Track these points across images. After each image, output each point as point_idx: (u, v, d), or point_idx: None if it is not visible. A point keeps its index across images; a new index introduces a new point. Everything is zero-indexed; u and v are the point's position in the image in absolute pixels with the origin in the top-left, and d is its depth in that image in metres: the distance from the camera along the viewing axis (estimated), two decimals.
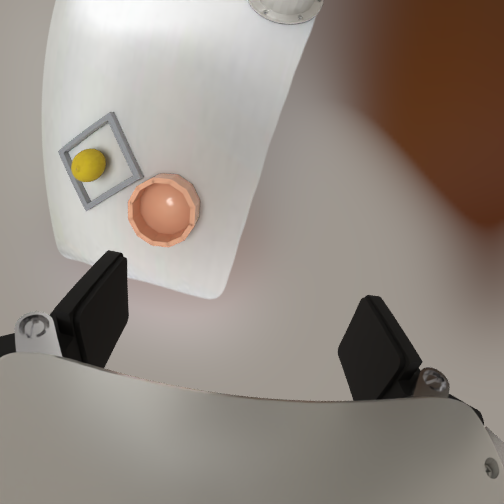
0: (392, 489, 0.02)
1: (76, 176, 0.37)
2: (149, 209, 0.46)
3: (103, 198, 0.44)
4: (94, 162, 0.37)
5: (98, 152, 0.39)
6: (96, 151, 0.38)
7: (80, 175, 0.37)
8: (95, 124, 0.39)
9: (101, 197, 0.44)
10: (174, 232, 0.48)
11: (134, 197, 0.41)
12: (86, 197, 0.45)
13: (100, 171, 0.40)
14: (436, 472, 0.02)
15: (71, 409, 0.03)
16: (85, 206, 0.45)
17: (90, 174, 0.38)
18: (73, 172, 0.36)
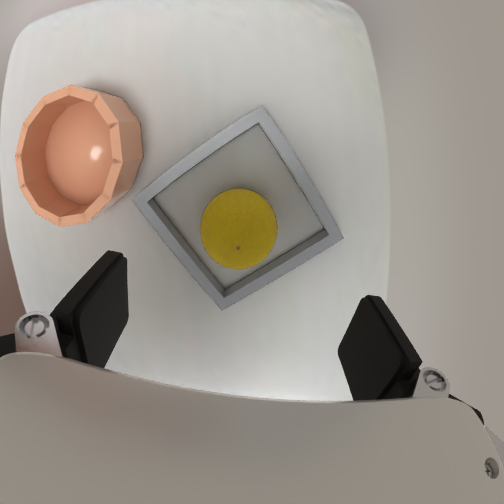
0: (392, 489, 0.02)
1: (245, 222, 0.17)
2: None
3: (212, 141, 0.20)
4: (205, 249, 0.19)
5: None
6: None
7: (229, 229, 0.17)
8: (249, 290, 0.26)
9: (217, 142, 0.20)
10: (66, 111, 0.19)
11: (110, 175, 0.18)
12: (266, 134, 0.21)
13: (201, 218, 0.20)
14: (436, 472, 0.02)
15: (71, 409, 0.03)
16: (264, 116, 0.20)
17: (207, 225, 0.18)
18: (255, 232, 0.17)
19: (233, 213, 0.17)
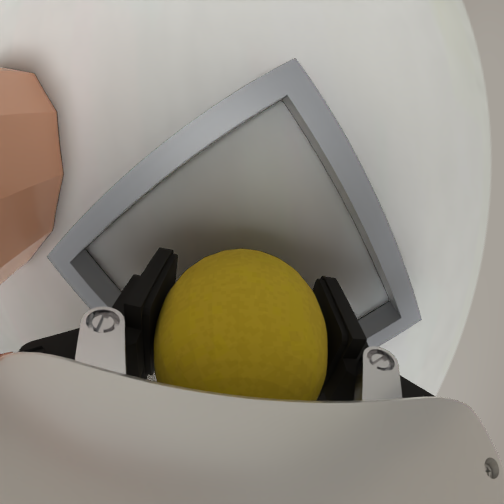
0: (392, 489, 0.02)
1: (259, 386, 0.06)
2: None
3: (181, 137, 0.09)
4: None
5: None
6: None
7: None
8: None
9: (193, 141, 0.09)
10: None
11: None
12: (302, 123, 0.09)
13: (157, 322, 0.08)
14: (436, 472, 0.02)
15: (71, 409, 0.03)
16: (300, 81, 0.08)
17: (162, 371, 0.06)
18: None
19: (224, 360, 0.06)
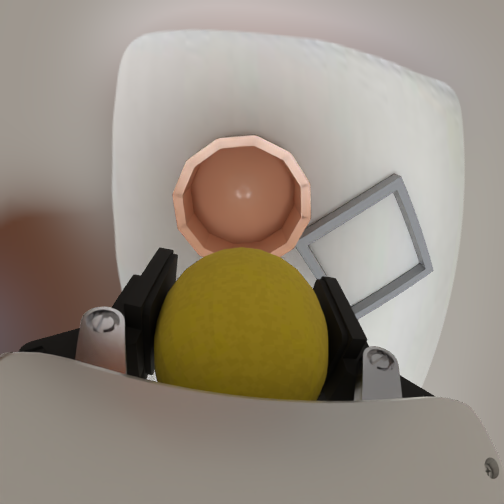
0: (392, 489, 0.02)
1: (260, 384, 0.06)
2: (275, 186, 0.26)
3: (365, 201, 0.26)
4: None
5: None
6: None
7: None
8: (369, 310, 0.31)
9: (369, 203, 0.26)
10: (221, 150, 0.24)
11: (297, 228, 0.24)
12: (398, 197, 0.26)
13: (157, 321, 0.08)
14: (436, 472, 0.02)
15: (71, 409, 0.03)
16: (401, 185, 0.25)
17: (162, 370, 0.06)
18: None
19: (225, 359, 0.06)
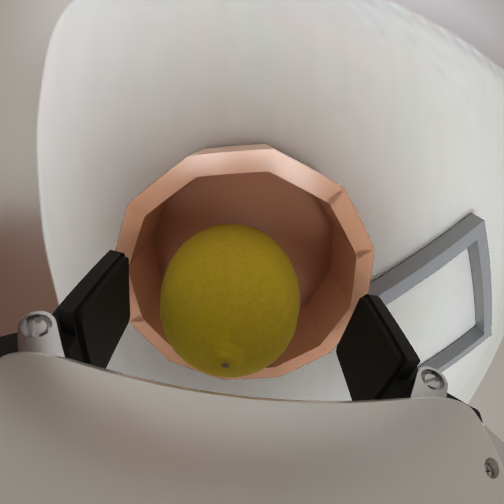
0: (392, 489, 0.02)
1: (240, 312, 0.08)
2: (300, 238, 0.15)
3: (436, 260, 0.15)
4: None
5: None
6: None
7: (206, 326, 0.08)
8: None
9: (441, 262, 0.15)
10: None
11: (340, 324, 0.13)
12: (473, 248, 0.15)
13: (163, 281, 0.11)
14: (436, 472, 0.02)
15: (71, 409, 0.03)
16: (482, 232, 0.14)
17: (166, 309, 0.09)
18: (261, 330, 0.08)
19: (214, 292, 0.08)
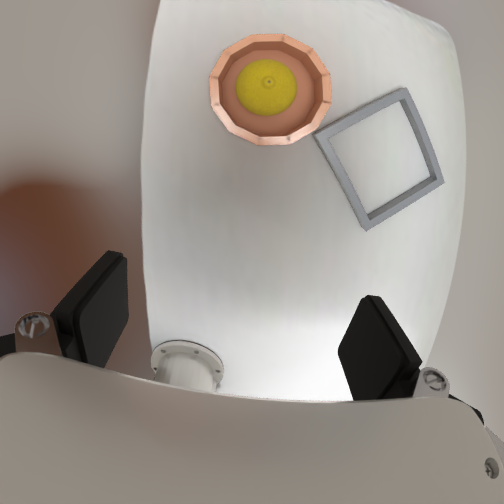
0: (392, 489, 0.02)
1: (274, 68, 0.19)
2: (297, 85, 0.26)
3: (377, 104, 0.25)
4: (241, 94, 0.21)
5: (248, 110, 0.24)
6: None
7: (262, 71, 0.19)
8: (387, 215, 0.31)
9: (380, 106, 0.25)
10: (251, 53, 0.24)
11: (319, 110, 0.24)
12: (406, 106, 0.26)
13: None
14: (436, 472, 0.02)
15: (71, 409, 0.03)
16: (407, 94, 0.25)
17: (244, 73, 0.20)
18: (282, 75, 0.19)
19: (264, 63, 0.19)
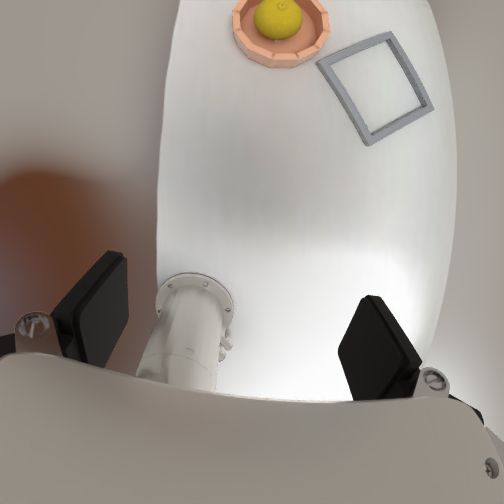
0: (392, 489, 0.02)
1: None
2: (302, 25, 0.27)
3: (368, 41, 0.27)
4: (259, 17, 0.22)
5: (264, 34, 0.25)
6: (266, 34, 0.25)
7: (276, 0, 0.20)
8: (387, 132, 0.32)
9: (371, 42, 0.27)
10: None
11: (321, 36, 0.25)
12: (392, 46, 0.27)
13: (255, 11, 0.23)
14: (436, 472, 0.02)
15: (71, 409, 0.03)
16: (392, 36, 0.26)
17: (262, 3, 0.21)
18: (291, 3, 0.20)
19: None
